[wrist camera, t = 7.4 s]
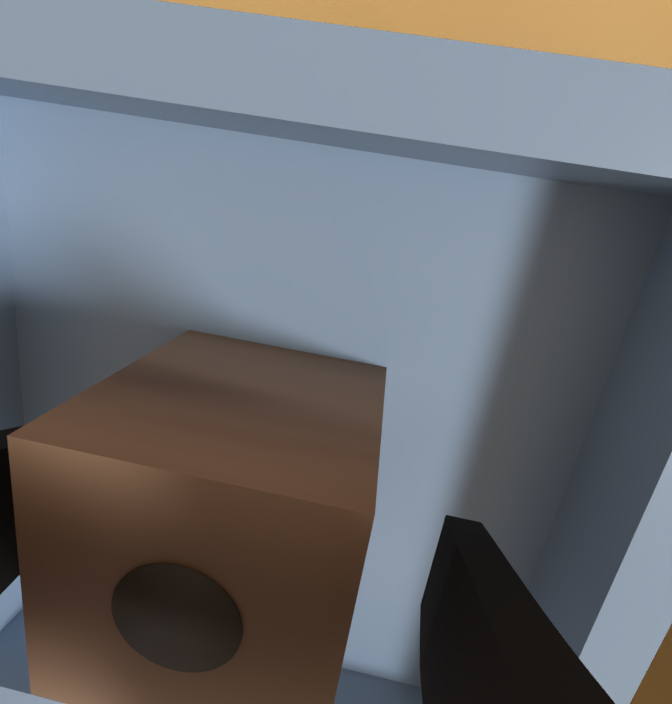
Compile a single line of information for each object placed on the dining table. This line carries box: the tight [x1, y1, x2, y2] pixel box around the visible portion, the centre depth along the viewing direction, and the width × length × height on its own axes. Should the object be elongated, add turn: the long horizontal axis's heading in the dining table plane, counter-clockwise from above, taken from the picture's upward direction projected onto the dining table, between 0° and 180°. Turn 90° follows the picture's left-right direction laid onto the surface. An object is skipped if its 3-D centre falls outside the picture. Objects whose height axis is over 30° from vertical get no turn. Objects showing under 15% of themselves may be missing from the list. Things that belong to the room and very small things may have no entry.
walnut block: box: [7, 330, 387, 704], centre depth 8 cm, size 4×4×5 cm
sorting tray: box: [0, 0, 672, 704], centre depth 10 cm, size 16×16×3 cm
